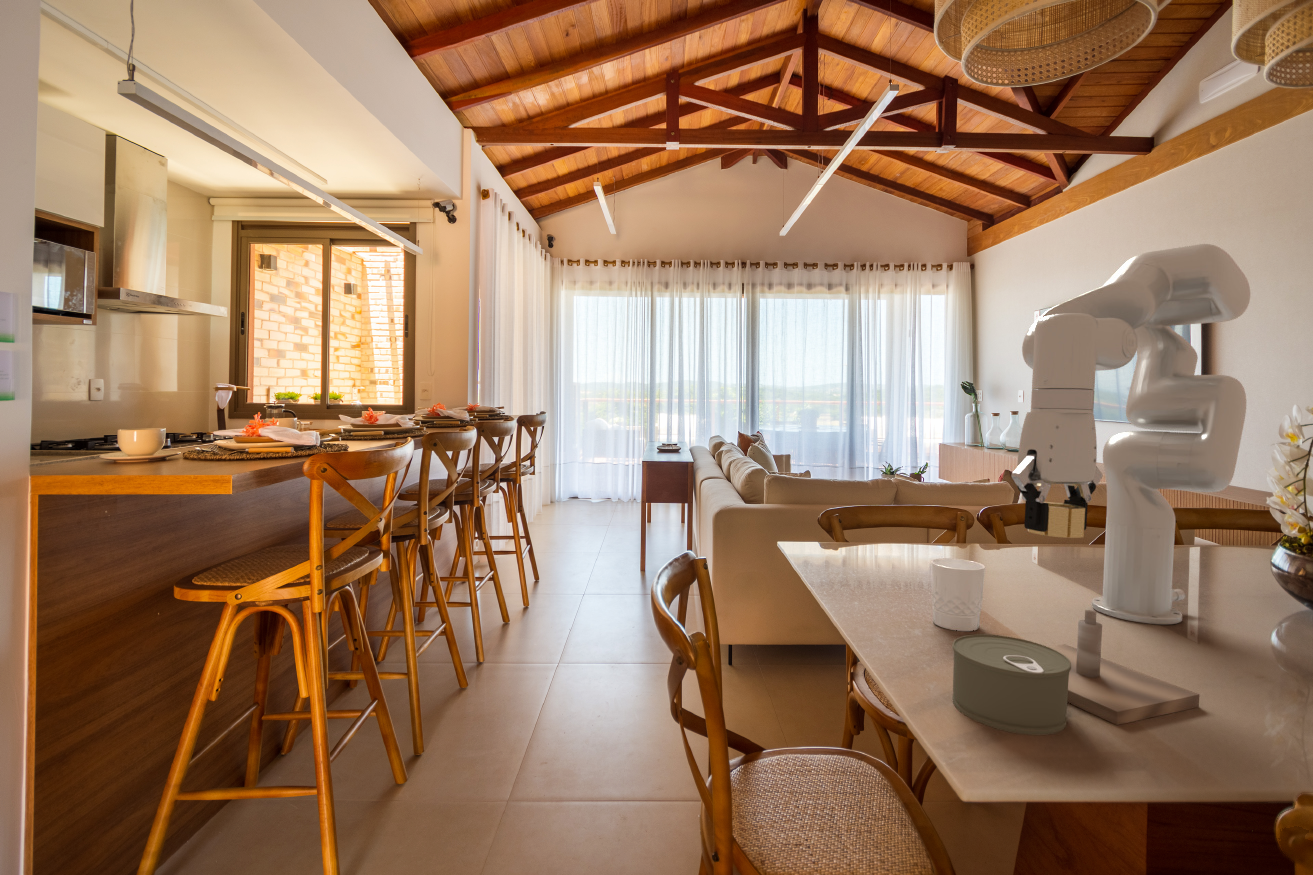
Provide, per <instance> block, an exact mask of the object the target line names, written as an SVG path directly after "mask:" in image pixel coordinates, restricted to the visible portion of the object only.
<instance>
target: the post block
mask: <svg viewBox="0 0 1313 875" xmlns="http://www.w3.org/2000/svg"><path fill="white" fill-rule="evenodd" d="M1097 614H1098V611H1096V610H1091V609H1085V611H1084V619H1080V620H1079V619H1078V621H1077V622H1078V624H1077V641H1076V642H1077V643H1076V645H1077V646H1076V647H1077V648H1076V647H1073V646H1070V645H1068V644H1066V643H1065V644H1058V645H1052V646H1048V647H1049V648H1051V649H1054V650H1056V651H1058V652H1059V653H1061V654H1063V655H1064V656H1066V657H1067V658H1068V659H1069V661H1070V662H1071V670H1070V672H1069V681H1068V698H1067V703H1068V702H1069V703H1068V704H1070V703H1071V704H1070V705H1073V706H1074V707H1077V708H1079V709H1081V710H1083V711H1085V712H1087V713H1090V714H1092V715H1095V716H1096V717H1098V718H1101V719H1102V720H1105V721H1107V722H1110V723H1111V724H1114V725H1116V726H1118V725H1123V724H1128V723H1132V722H1137V721H1142V720H1145V719H1150V718H1151V719H1152V718H1155V717H1159V716H1163V715H1164V716H1165V715H1169V714H1173V713H1177V712H1183V711H1186V710H1191V709H1195V708H1199V707H1200V696H1201V695H1200V693H1197V692H1195V691H1192V690H1189V689H1186V688H1183V687H1181V686H1178V685H1177V684H1176V685H1175V684H1173V683H1170V682H1167V681H1164V680H1162V679H1159V678H1156V677H1154V676H1150V675H1148V674H1147V673H1143V672H1141V671H1137V670H1136V669H1135V670H1134V669H1132V668H1130V667H1127V666H1124V665H1122V664H1119V663H1116V662H1113V661H1111V660H1108V659H1106V658H1103V657H1102V636H1103V634H1102V633H1103V624H1102V623H1100V622H1098V621H1097Z"/></svg>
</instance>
